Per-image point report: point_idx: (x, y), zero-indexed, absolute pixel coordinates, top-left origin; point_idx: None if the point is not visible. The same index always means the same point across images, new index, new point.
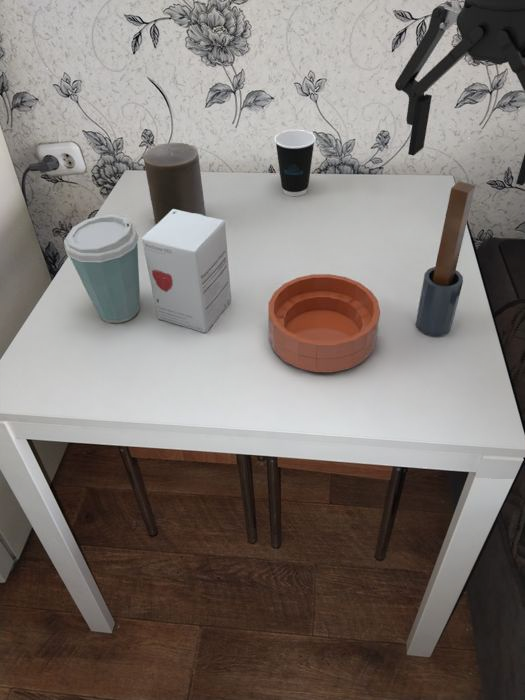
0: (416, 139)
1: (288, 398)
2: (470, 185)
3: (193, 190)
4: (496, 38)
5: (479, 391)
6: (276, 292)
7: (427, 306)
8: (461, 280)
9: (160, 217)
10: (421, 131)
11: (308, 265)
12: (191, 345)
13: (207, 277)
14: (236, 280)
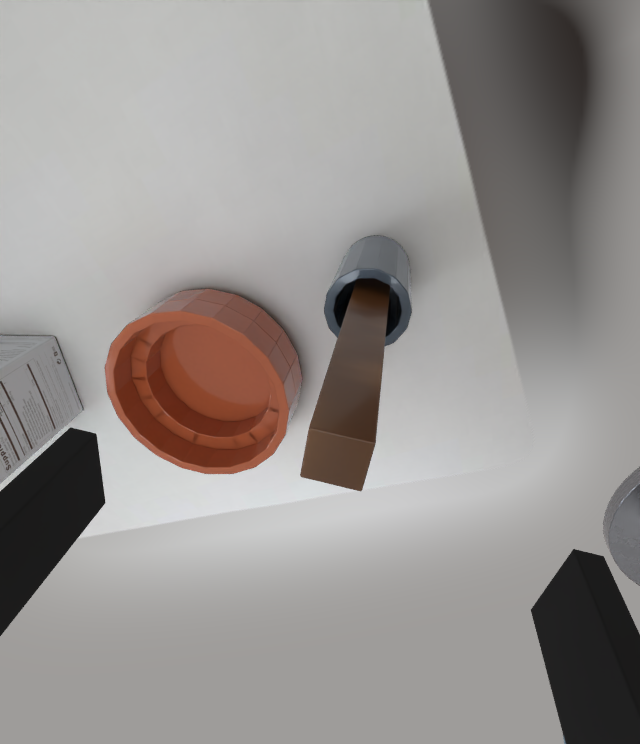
0: (59, 556)
1: (241, 471)
2: (358, 447)
3: None
4: None
5: (476, 391)
6: (110, 393)
7: None
8: (407, 310)
9: None
10: (36, 547)
11: (83, 180)
12: None
13: (11, 448)
14: (20, 285)
